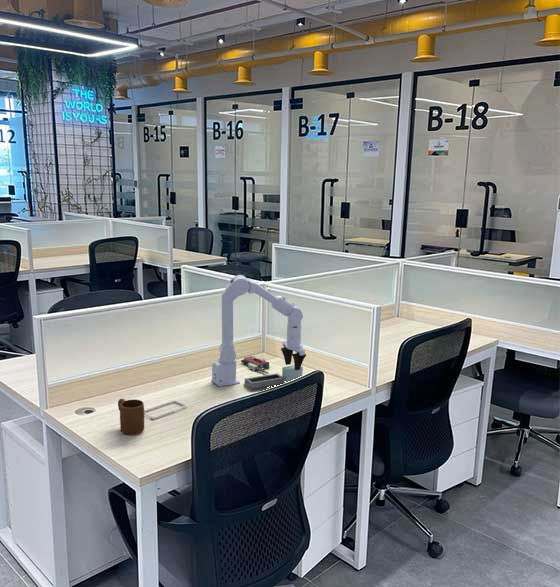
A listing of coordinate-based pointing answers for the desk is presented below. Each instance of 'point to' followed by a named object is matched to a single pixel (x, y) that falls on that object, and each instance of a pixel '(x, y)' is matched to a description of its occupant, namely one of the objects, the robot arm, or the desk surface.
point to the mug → (131, 416)
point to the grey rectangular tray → (263, 382)
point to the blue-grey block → (291, 373)
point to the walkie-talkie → (256, 363)
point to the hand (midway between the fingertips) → (292, 367)
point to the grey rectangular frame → (167, 412)
